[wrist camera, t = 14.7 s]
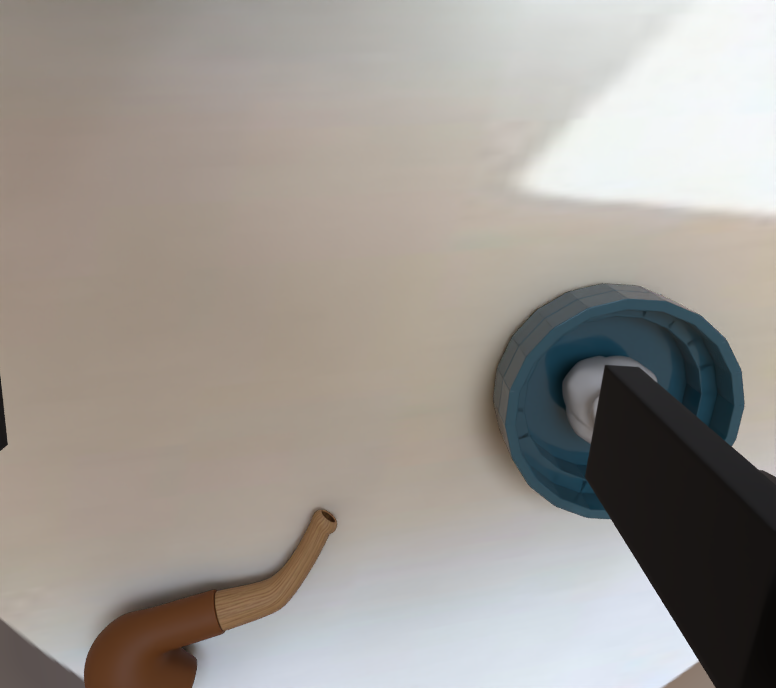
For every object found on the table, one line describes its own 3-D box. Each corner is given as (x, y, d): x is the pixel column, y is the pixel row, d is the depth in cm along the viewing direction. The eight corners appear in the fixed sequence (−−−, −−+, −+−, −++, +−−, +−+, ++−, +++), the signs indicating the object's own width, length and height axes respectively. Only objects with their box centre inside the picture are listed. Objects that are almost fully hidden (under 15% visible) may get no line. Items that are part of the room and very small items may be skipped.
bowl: (506, 274, 39) (522, 291, 34) (726, 289, 39) (769, 307, 35) (481, 475, 43) (493, 513, 38) (681, 486, 43) (715, 525, 39)
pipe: (83, 634, 46) (42, 705, 40) (271, 457, 42) (255, 507, 36) (167, 694, 47) (138, 770, 42) (354, 529, 44) (352, 588, 38)
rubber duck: (588, 325, 39) (640, 370, 32) (672, 383, 40) (741, 440, 33) (532, 395, 40) (569, 455, 33) (614, 450, 42) (668, 520, 34)
